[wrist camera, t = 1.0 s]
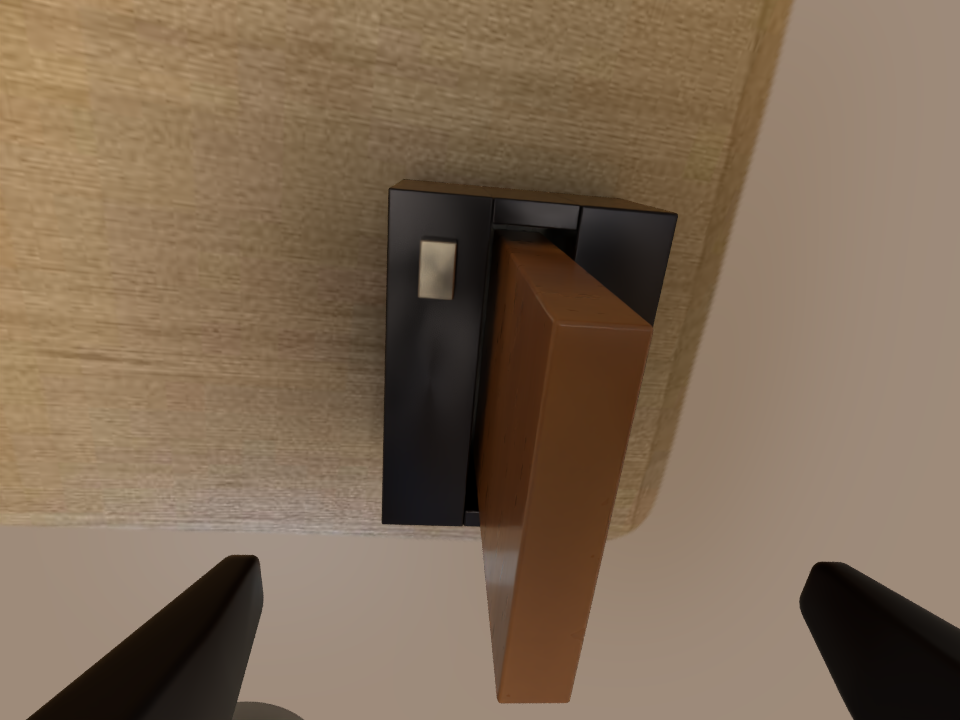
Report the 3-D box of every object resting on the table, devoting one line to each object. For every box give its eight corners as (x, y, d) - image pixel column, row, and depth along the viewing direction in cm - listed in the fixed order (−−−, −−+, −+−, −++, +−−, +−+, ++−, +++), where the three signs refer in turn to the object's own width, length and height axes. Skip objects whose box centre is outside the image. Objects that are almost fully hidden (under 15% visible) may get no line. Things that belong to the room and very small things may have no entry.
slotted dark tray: (394, 446, 22) (379, 535, 17) (402, 178, 18) (386, 188, 13) (574, 454, 23) (612, 541, 18) (622, 198, 19) (687, 215, 14)
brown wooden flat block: (472, 451, 20) (496, 705, 11) (494, 228, 17) (554, 320, 8) (512, 452, 20) (570, 705, 11) (541, 232, 17) (656, 326, 8)
